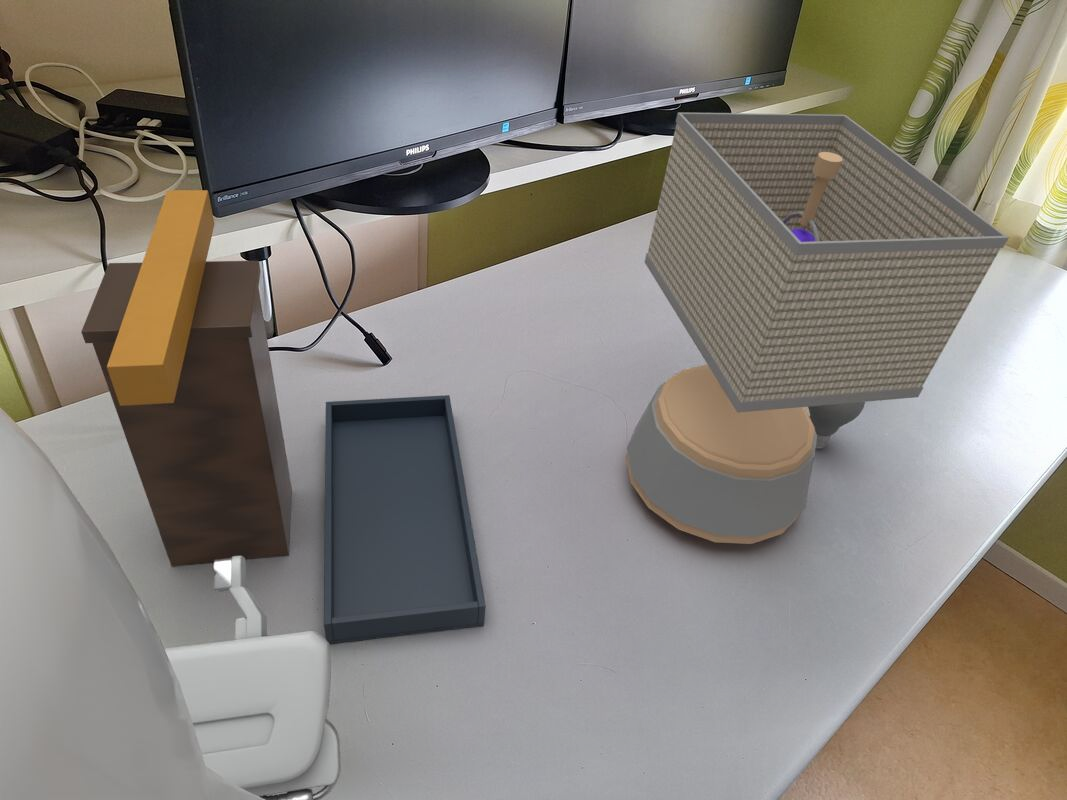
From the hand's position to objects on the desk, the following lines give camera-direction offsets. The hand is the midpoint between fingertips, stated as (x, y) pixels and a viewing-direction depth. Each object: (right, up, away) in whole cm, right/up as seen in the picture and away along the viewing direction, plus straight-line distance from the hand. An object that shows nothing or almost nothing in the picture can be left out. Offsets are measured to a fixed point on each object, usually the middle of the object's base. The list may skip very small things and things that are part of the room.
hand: (141, 566), depth 43 cm
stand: (-6, -2, +28) cm, 29 cm away
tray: (+9, -2, +32) cm, 33 cm away
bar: (-3, +16, +11) cm, 20 cm away
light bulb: (+55, +4, +45) cm, 71 cm away
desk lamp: (+41, 0, +39) cm, 56 cm away
